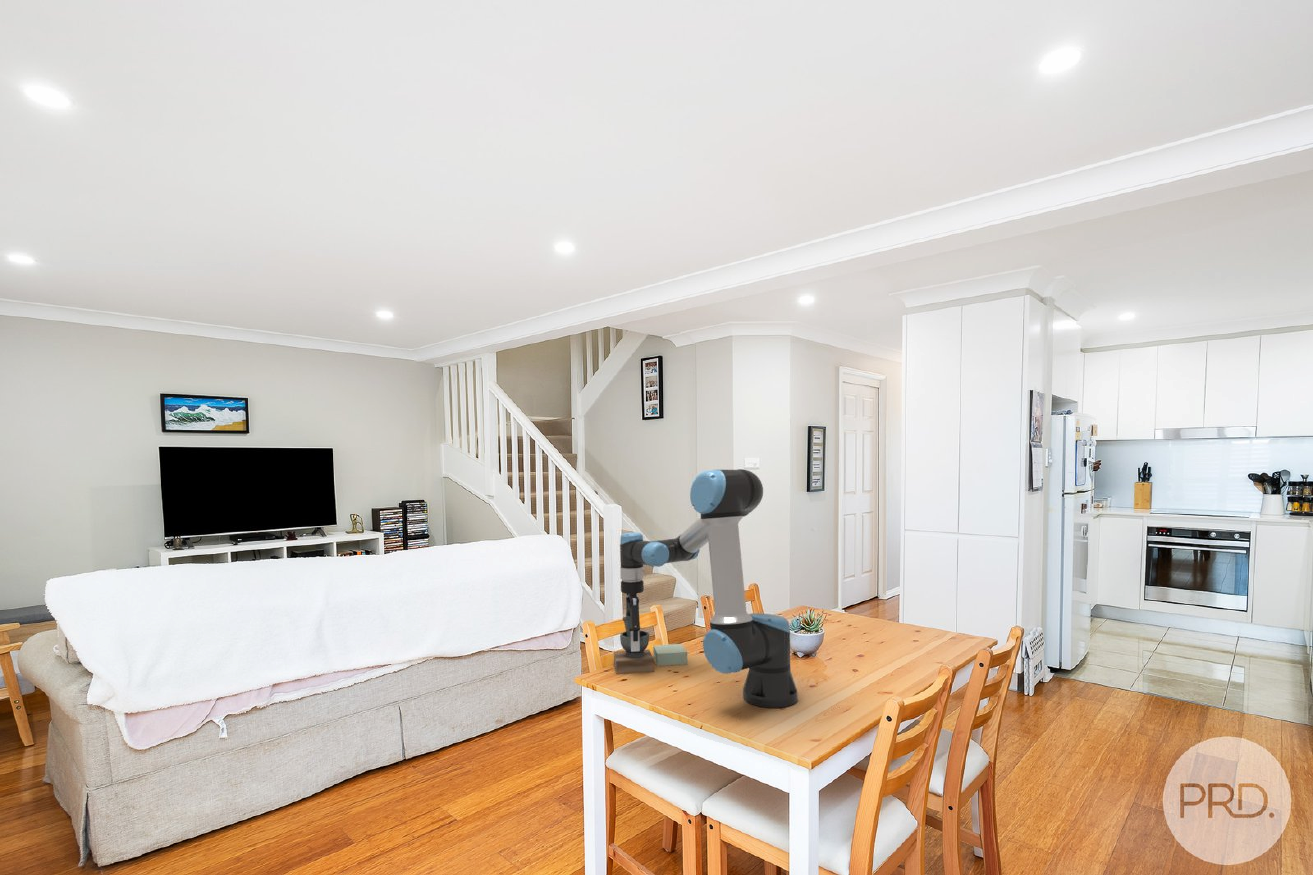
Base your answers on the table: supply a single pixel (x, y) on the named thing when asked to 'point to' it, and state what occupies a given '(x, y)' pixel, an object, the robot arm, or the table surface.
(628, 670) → the walnut plinth
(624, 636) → the mortar and pestle
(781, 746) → the table surface
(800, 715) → the table surface
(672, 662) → the green plinth
